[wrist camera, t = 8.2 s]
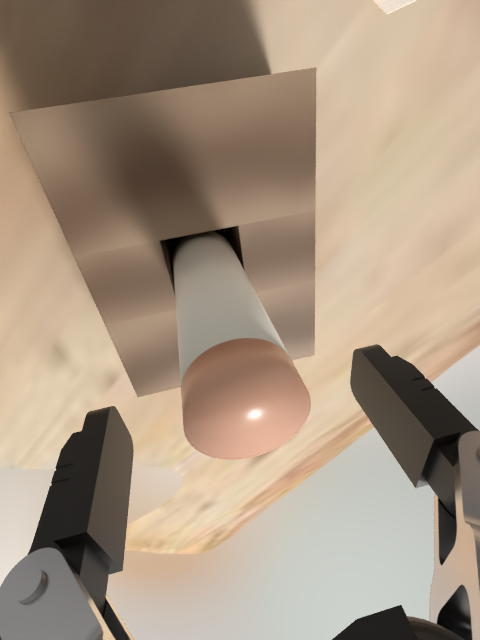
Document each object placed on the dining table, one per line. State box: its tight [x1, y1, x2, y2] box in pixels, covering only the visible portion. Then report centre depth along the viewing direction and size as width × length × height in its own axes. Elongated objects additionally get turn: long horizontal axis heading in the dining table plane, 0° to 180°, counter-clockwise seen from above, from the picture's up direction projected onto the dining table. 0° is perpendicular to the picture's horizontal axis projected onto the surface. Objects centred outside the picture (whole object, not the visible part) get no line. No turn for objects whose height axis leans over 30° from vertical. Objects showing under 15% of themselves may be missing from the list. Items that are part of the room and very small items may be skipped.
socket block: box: [9, 68, 316, 397], centre depth 22 cm, size 18×14×7 cm
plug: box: [173, 231, 311, 460], centre depth 15 cm, size 4×4×13 cm
